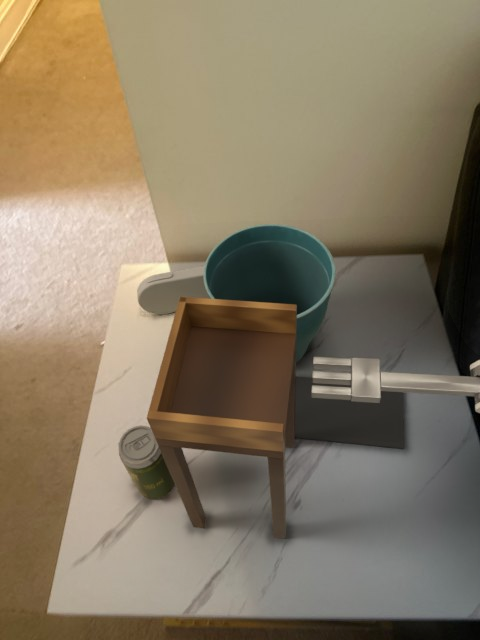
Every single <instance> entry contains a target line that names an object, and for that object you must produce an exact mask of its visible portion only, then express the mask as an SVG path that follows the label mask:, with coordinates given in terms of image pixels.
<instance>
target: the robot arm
mask: <svg viewBox="0 0 480 640" xmlns="http://www.w3.org/2000/svg"><path fill="white" fill-rule="evenodd" d="M469 371H470V377H480V359H478V360H475V362H473V363H471V364H470V365H469ZM473 399H474V400H473V402H474V411H475V412H476V413H478V414H480V393H479V394H478V393H477V394H475V395H474V396H473Z"/></svg>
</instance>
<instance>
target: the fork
mask: <svg viewBox="0 0 480 640" xmlns="http://www.w3.org/2000/svg"><path fill="white" fill-rule="evenodd" d="M312 369H313V370H312V372H311V373H312V374H311V378H312V383H322V384H339V385H351V387H335V386H318V385H312V390H311V397H312V398H325V399H341V400H351V401H355V402H371V403H380V399H381V391H390V392H403V393H406V394H407V393H409V394H426V395H441V396H442V395H444V396H456V397H457V396H459V397H474V395H475V394H477V393H478V394H479V393H480V377H471V376H468V375H466V376H465V375H452V374H451V375H450V374H429V373H411V372H395V371H394V372H392V371H381V359H380V358H368V357H351V358H350V357H349V358H347V357H327V356H313V357H312ZM324 370H325V371H324ZM345 371H346V372H345ZM347 371H348V372H347Z"/></svg>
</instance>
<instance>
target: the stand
mask: <svg viewBox="0 0 480 640" xmlns="http://www.w3.org/2000/svg"><path fill="white" fill-rule="evenodd" d="M296 331H297V305H294V304H280V303H265V302H251V301H236V300H222V299H207V298H192V297H180V298H179V301H178V305H177V309H176V311H174V316H173V321H172V324H171V328H170V331H169V334H168V338H167V341H166V346H165V349H164V353H163V356H162V360H161V364H160V368H159V372H158V374H157V377H156V382H155V386H154V389H153V394H152V397H151V401H150V403H149V404H150V405H149V407H148V412H147V415H146V420H147V422H148V423H147V424H148V425H149V427H150V428H151V430H152V432H153V434H154V437H155V439H156V441H157V444H158V446H159V448H160V451H161V453H162V455H163V458H164V460H165V462H166V465H167V467H168V469H169V472H170V474H171V476H172V479H173V481H174V483H175V485H174V487H175V488H176V490H177V493H178V495H179V498H180V500H181V502H182V504H183V507H184V509H185V511H186V514H187V516H188V518H189V520H190V523H191V525H192V527H193V528H197V529H205V527H206V521H207V515H206V513H205V509H204V506H203V503H202V501H201V498H200V495H199V493H198V490H197V487H196V485H195V481H194V479H193V476H192V473H191V470H190V467H189V465H188V462H187V459H186V456H185V453H184V451H183V449H189V450H199V451H208V452H215V453H225V454H236V455H244V456H245V455H246V456H254V457H263V458H267V469H268V480H269V481H268V483H269V494H270V507H271V520H272V533H273V538H275V539H282V540H286V536H287V484H286V483H287V482H286V481H287V480H286V479H287V477H286V448H295V442H296V438H295V400H296V376H297V362H296Z"/></svg>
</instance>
